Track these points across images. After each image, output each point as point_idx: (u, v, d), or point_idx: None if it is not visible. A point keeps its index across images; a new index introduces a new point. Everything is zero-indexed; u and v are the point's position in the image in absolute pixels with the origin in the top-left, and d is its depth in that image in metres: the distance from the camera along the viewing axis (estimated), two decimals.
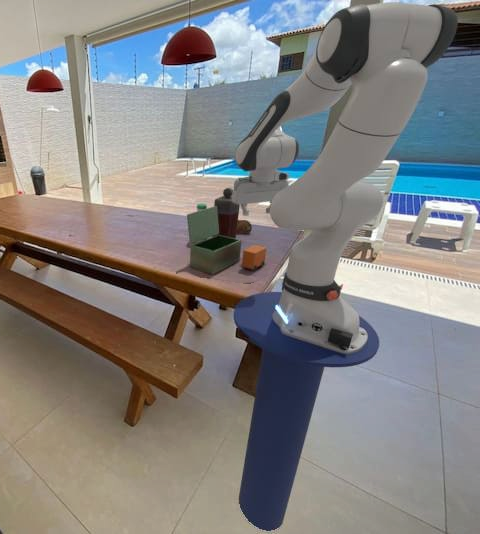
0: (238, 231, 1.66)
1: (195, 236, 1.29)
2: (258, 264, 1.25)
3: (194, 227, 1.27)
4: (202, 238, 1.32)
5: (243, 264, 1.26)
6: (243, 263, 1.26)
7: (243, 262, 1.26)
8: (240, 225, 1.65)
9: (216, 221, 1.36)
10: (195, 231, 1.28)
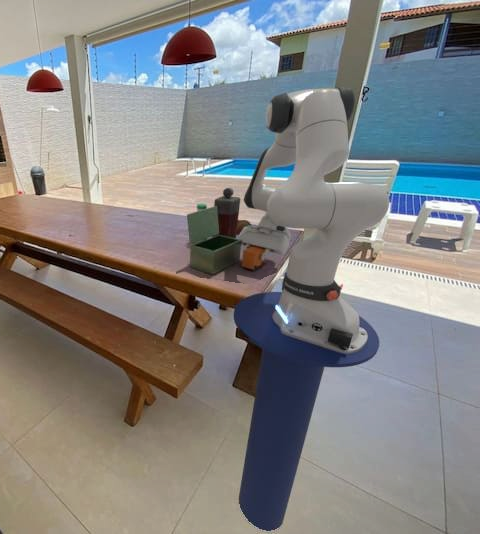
0: (238, 231, 1.66)
1: (195, 236, 1.29)
2: (258, 264, 1.25)
3: (194, 227, 1.27)
4: (202, 238, 1.32)
5: (243, 264, 1.26)
6: (243, 263, 1.26)
7: (243, 262, 1.26)
8: (240, 225, 1.65)
9: (216, 221, 1.36)
10: (195, 231, 1.28)
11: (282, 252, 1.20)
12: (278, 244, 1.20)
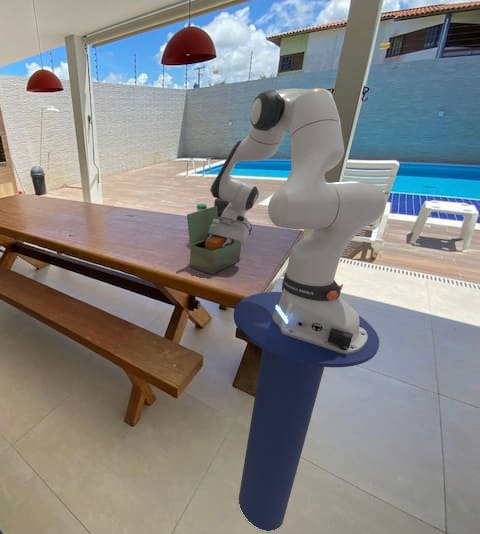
0: None
1: (195, 236, 1.29)
2: None
3: (194, 227, 1.27)
4: (202, 238, 1.32)
5: None
6: None
7: None
8: None
9: None
10: (195, 231, 1.28)
11: (241, 241, 1.23)
12: (238, 234, 1.24)
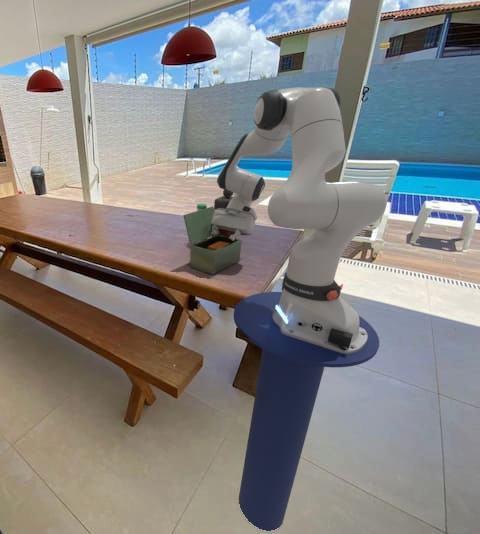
0: None
1: (194, 236, 1.29)
2: None
3: (192, 227, 1.28)
4: (202, 238, 1.32)
5: None
6: None
7: None
8: None
9: None
10: (193, 231, 1.29)
11: (248, 231, 1.24)
12: (244, 224, 1.25)
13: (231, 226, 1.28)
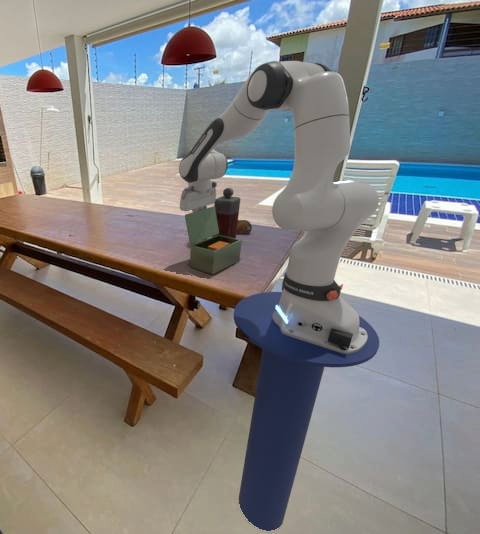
0: (238, 231, 1.66)
1: (195, 236, 1.29)
2: None
3: (193, 227, 1.28)
4: (202, 238, 1.32)
5: None
6: None
7: None
8: (240, 225, 1.65)
9: (215, 221, 1.37)
10: (194, 231, 1.28)
11: None
12: (212, 198, 1.33)
13: (205, 205, 1.31)
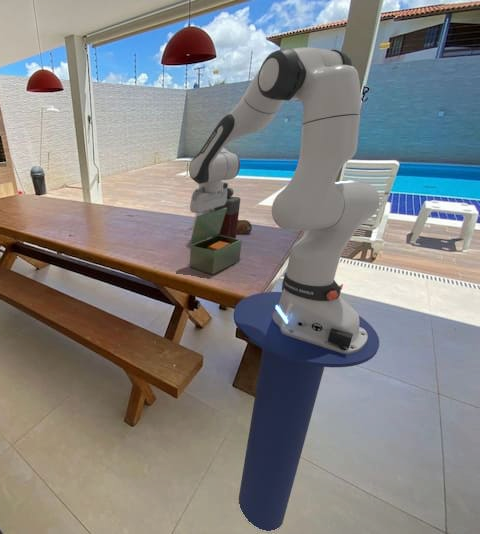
0: (238, 231, 1.66)
1: (197, 237, 1.28)
2: None
3: (199, 229, 1.26)
4: (202, 239, 1.31)
5: None
6: None
7: None
8: (240, 225, 1.65)
9: (221, 222, 1.35)
10: (198, 232, 1.27)
11: None
12: (223, 200, 1.29)
13: (215, 206, 1.27)
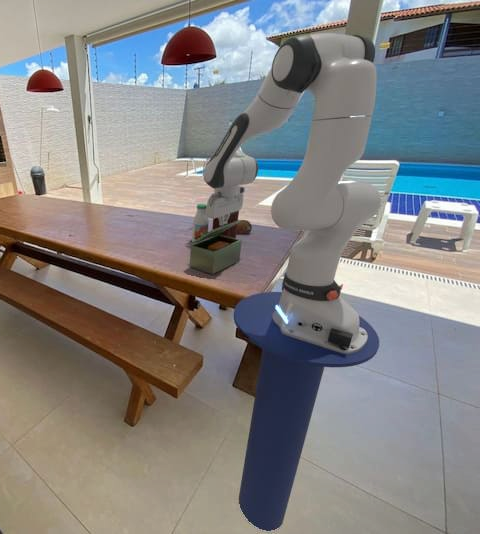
0: (238, 231, 1.66)
1: (199, 240, 1.27)
2: None
3: (206, 236, 1.24)
4: None
5: None
6: None
7: None
8: (240, 225, 1.65)
9: (226, 229, 1.33)
10: (203, 238, 1.26)
11: None
12: (239, 204, 1.24)
13: (231, 211, 1.22)
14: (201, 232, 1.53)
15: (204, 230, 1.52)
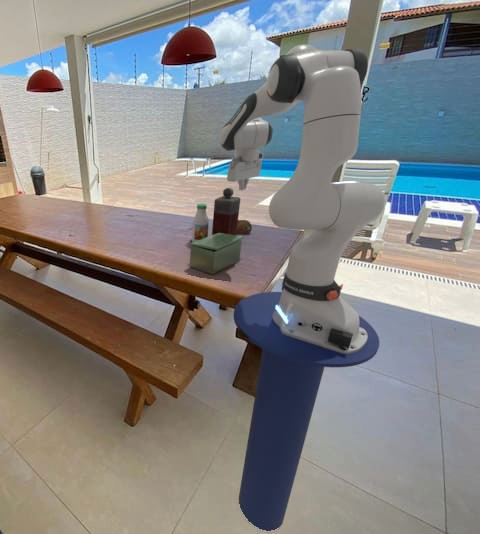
0: (238, 231, 1.66)
1: None
2: None
3: None
4: None
5: None
6: None
7: None
8: (240, 225, 1.65)
9: None
10: None
11: None
12: (257, 170, 1.33)
13: (250, 177, 1.31)
14: (201, 232, 1.53)
15: (204, 230, 1.52)
